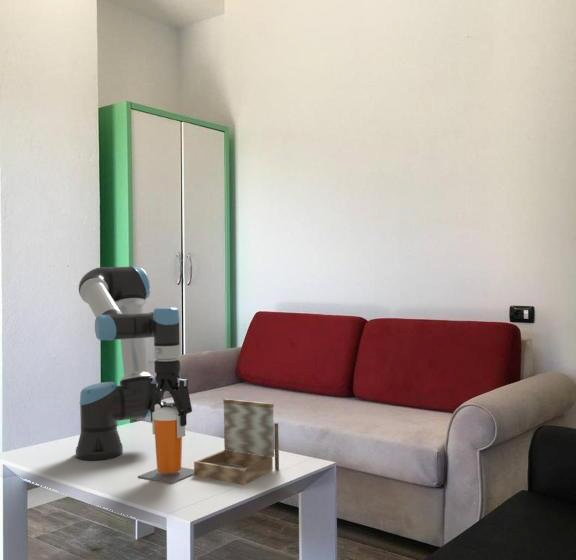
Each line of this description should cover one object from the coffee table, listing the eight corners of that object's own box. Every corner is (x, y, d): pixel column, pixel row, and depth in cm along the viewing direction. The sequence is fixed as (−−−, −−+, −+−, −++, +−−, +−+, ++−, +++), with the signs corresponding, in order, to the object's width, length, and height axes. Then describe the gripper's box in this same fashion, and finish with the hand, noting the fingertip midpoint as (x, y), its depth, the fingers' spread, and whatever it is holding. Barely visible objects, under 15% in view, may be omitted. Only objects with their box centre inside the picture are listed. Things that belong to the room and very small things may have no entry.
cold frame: (194, 475, 197) (193, 407, 197) (228, 460, 211) (227, 398, 211) (247, 485, 187) (246, 414, 187) (279, 469, 201) (278, 403, 201)
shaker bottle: (178, 475, 193) (176, 406, 192) (149, 473, 194) (147, 405, 194) (188, 466, 201) (187, 400, 201) (161, 465, 203) (159, 399, 203)
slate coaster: (137, 477, 196) (137, 476, 196) (167, 466, 207) (167, 464, 207) (171, 484, 189) (171, 482, 189) (200, 471, 200) (200, 470, 200)
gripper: (131, 359, 200) (133, 433, 200) (187, 363, 189) (188, 442, 189) (148, 356, 206) (150, 428, 207) (203, 359, 195) (205, 436, 195)
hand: (168, 434), depth 198 cm, fingers closed on shaker bottle, 9 cm apart
